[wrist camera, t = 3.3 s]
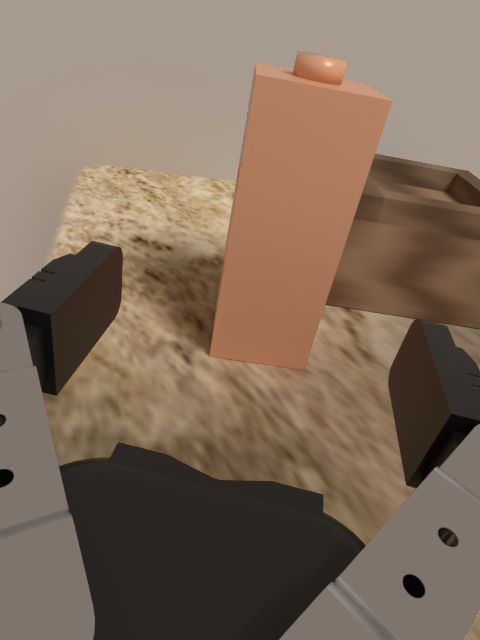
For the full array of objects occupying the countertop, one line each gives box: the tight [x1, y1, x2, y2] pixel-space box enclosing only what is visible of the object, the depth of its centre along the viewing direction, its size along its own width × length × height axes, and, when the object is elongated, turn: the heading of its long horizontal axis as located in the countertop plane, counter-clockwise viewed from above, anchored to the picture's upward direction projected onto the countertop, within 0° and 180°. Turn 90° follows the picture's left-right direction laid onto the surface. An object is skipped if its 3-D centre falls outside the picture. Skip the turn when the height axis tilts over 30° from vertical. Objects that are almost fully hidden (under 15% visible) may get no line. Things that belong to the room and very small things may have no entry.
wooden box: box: [326, 154, 480, 329], centre depth 32 cm, size 11×11×8 cm
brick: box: [209, 51, 392, 370], centre depth 21 cm, size 5×5×14 cm
